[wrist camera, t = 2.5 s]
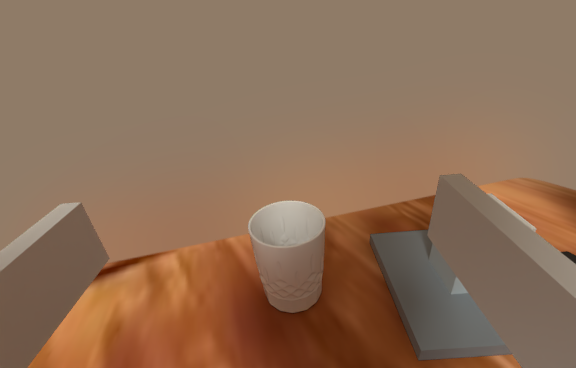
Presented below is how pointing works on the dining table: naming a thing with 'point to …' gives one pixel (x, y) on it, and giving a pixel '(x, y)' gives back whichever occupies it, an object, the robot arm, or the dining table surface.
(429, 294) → the narrow pillar
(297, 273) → the white cup
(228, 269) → the dining table surface
